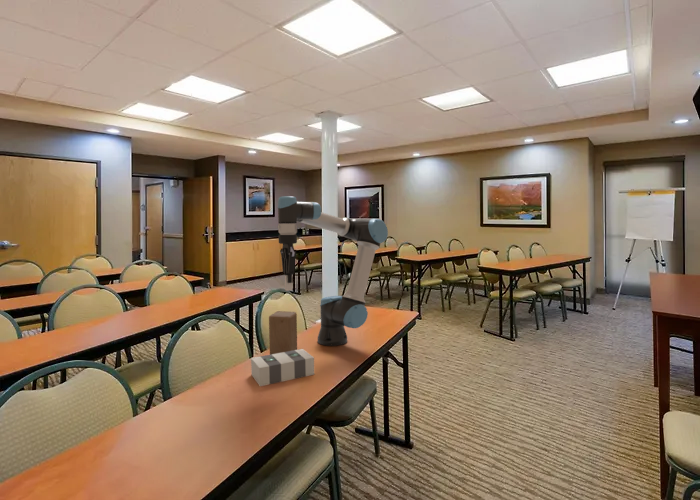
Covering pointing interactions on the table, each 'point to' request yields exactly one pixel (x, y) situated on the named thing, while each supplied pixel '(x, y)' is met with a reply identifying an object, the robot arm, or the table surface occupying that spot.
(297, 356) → the peg
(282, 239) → the robot arm
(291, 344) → the wooden block
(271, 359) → the peg
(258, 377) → the socket board
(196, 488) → the table surface
